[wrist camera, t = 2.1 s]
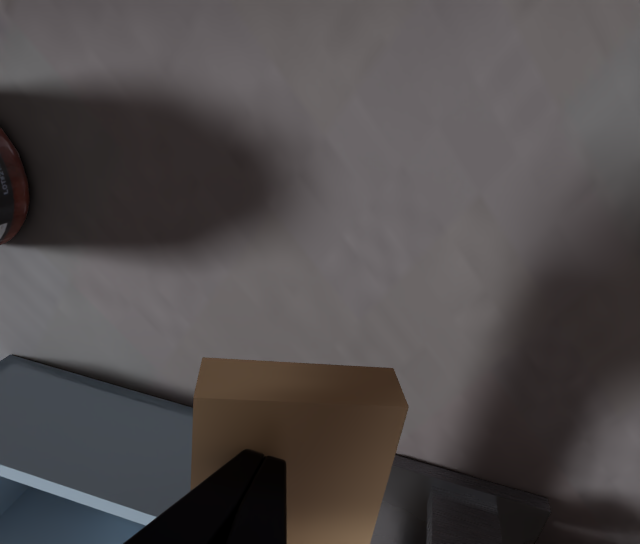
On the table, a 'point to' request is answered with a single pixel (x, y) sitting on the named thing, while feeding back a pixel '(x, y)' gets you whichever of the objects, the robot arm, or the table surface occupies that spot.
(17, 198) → the supplement bottle
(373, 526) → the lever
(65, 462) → the bin
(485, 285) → the table surface
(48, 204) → the table surface
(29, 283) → the table surface
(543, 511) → the stand
